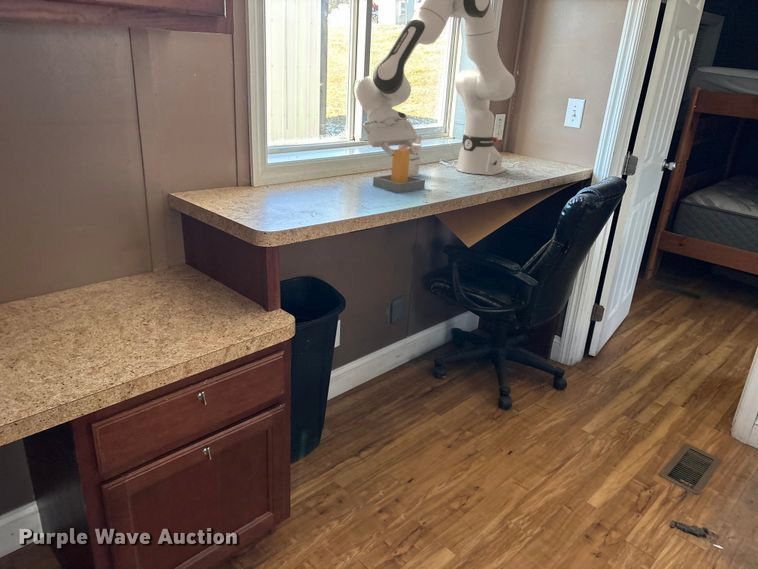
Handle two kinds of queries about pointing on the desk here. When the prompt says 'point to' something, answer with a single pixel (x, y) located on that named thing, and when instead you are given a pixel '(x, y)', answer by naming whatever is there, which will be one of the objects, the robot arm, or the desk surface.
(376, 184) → the tray
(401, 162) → the orange rectangular block
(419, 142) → the ink cartridge box
